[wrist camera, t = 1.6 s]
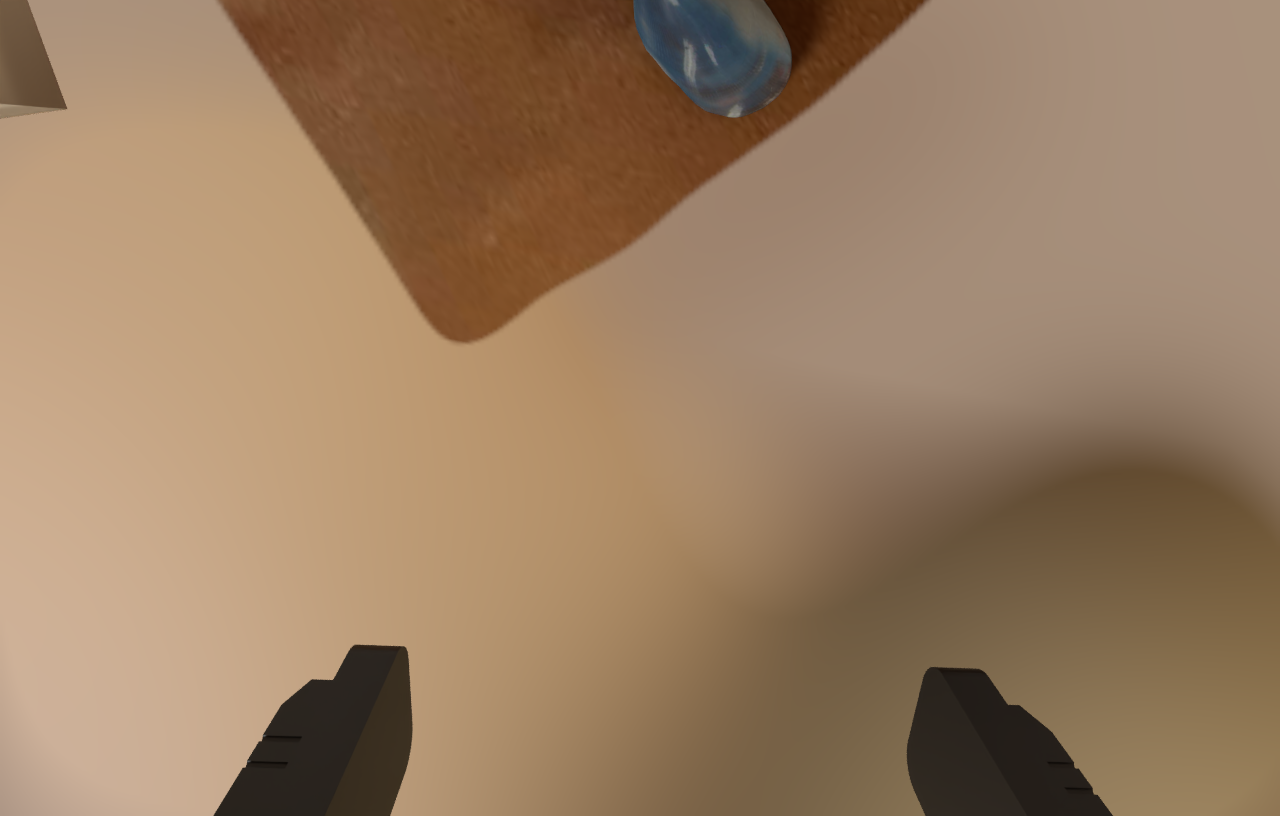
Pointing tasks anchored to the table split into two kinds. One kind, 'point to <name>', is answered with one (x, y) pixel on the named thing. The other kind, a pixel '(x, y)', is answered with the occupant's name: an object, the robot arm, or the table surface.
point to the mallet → (24, 65)
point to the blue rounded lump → (718, 51)
